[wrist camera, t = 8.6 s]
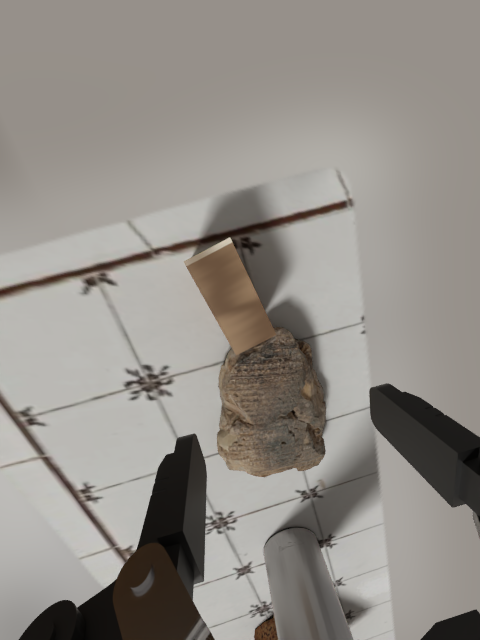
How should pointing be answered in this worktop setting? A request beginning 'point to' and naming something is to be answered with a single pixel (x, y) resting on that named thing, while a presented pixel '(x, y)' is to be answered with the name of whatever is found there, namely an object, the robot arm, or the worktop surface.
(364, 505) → the worktop surface
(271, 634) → the bread
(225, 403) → the clay tablet
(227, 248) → the walnut block
